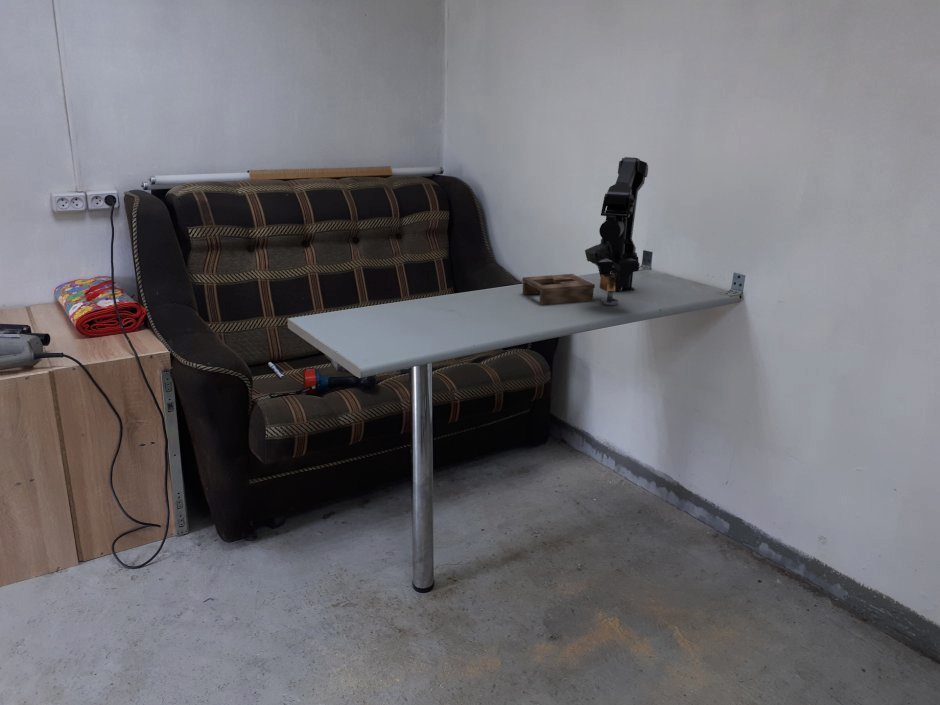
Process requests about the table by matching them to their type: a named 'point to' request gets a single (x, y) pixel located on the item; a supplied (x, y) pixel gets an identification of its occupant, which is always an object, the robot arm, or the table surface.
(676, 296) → the table surface
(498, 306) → the table surface
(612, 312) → the table surface
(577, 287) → the keyhole bracket
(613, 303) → the hanger peg
